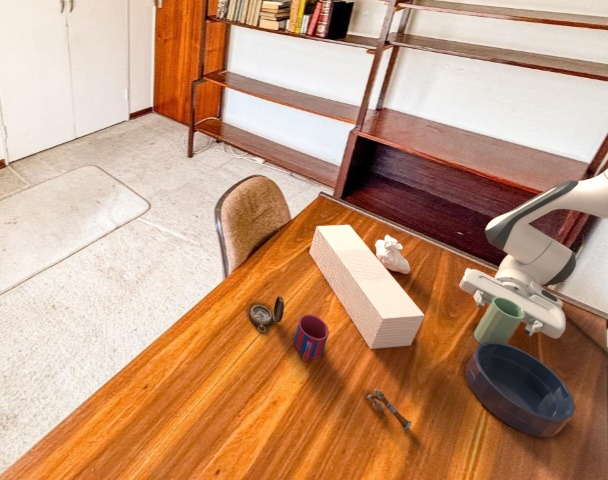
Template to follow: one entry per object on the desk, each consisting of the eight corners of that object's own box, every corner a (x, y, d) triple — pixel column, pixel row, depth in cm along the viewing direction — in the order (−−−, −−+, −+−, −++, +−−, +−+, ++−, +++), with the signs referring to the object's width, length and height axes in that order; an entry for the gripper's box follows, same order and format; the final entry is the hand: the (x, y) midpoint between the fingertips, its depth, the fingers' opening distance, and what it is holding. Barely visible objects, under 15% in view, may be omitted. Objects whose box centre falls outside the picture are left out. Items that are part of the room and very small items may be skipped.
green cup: (490, 329, 102) (510, 297, 97) (509, 352, 96) (531, 318, 91) (467, 329, 102) (486, 296, 97) (486, 352, 96) (506, 318, 91)
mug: (325, 343, 97) (332, 324, 94) (313, 376, 89) (320, 356, 86) (298, 328, 100) (304, 309, 97) (284, 358, 93) (290, 339, 90)
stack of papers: (410, 345, 97) (425, 315, 92) (370, 349, 96) (383, 318, 91) (340, 251, 126) (349, 224, 121) (309, 252, 125) (316, 226, 120)
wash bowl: (513, 359, 95) (525, 341, 92) (582, 438, 80) (599, 420, 77) (447, 359, 94) (457, 341, 91) (504, 438, 79) (518, 420, 77)
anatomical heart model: (370, 256, 127) (360, 238, 122) (389, 241, 127) (380, 223, 121) (400, 285, 117) (391, 267, 111) (421, 269, 117) (413, 251, 111)
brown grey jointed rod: (364, 390, 86) (378, 384, 83) (396, 425, 83) (412, 421, 80) (361, 396, 85) (375, 391, 82) (394, 432, 82) (410, 428, 79)
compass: (248, 305, 106) (251, 285, 103) (278, 311, 105) (283, 291, 102) (248, 331, 99) (252, 311, 96) (280, 338, 98) (286, 318, 94)
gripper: (471, 257, 110) (457, 282, 102) (572, 306, 96) (565, 339, 88) (463, 274, 113) (449, 300, 104) (559, 323, 99) (552, 357, 91)
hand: (503, 318), depth 96 cm, fingers open, 8 cm apart
